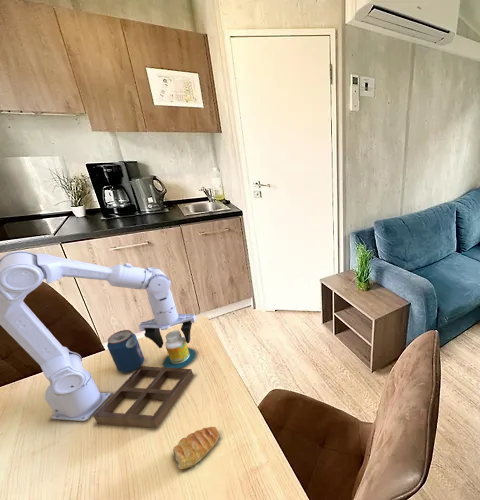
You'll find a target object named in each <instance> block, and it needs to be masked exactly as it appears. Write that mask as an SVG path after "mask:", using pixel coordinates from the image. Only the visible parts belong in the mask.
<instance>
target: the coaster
mask: <svg viewBox="0 0 480 500" xmlns="http://www.w3.org/2000/svg"><path fill="white" fill-rule="evenodd" d="M188 351H189V358H188V359H187V360H186V361H184V362H182V363H179V364H173V363H171V361H170V358H169V355H167V356H166V358H165V359H164V361H163V367H166V368H183V369H184V368H185V367H187V366H189V365H190V364H191V363H192V362H193V361H194V360H195V358H196V351H195V350H194V349H193V348H189V347H188Z"/></svg>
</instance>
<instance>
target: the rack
mask: <svg viewBox="0 0 480 500" xmlns="http://www.w3.org/2000/svg"><path fill="white" fill-rule="evenodd" d="M144 377H145V378H154V379H153V380H151V382H150V383H149V385H148V386H147V387H145V388H144V387H137V385H139V383H140V382H141V381H142V379H144ZM168 379H178V381H177V382H176V384H175V385H174V387H173V388H172V389H160V388H161V387H162V386H163V385H164V383H166V381H167V380H168ZM192 379H194V373H193V370H192V368H184V367H183V368H166V367H164V366H147V365H142V366H140V367H139V368H138V369H137V370H136V371H134V372H132V374H131V375H130V376H129V377H128V378H127V379H126V380H125V382H123V384H121V386H119V388H117V390H116V391H115V392H114V393H113V394H111V396H110V397H109V398H108V399H107V400H106V401H105V402H104V403H103V404H102V405H101V406H100V407H99V408H98V409H97V410H96V411H95V412H94V413H93V416H92V417H93V418H94V420H95V423H96V424H97V425H109V426H122V427H137V428H153V429H158V428H159V427H160V426H161V424H162V422H163V421H164V420H165V418H166V417H167V415H168V414H169V412H170V411H171V410H172V408H173V407H174V405H175V403H177V401H178V400H179V398H180V397H181V395H182V394H183V392H184V391H185V390H186V388H187V387H188V385H189V384H190V382H191V381H192ZM125 399H129V400H130V399H131V400H135V401H134V402H133V403H132V404H131V405H130V407H129V408H128V409H127V411H126V412H125V413H123V412H122V413H121V412H114V411H115V410H116V409H117V408H118V407H119V405H120V404H121V403H122V402H123V401H124V400H125ZM150 401H161V402H162V403H161V404H160V405H159V407H158V408H157V410H155V412H154V413H153V414H152V415H151V414H150V415H149V414H141V412H142V411H143V410H144V408H145V407H146V406H147V405H148V403H150Z"/></svg>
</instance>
